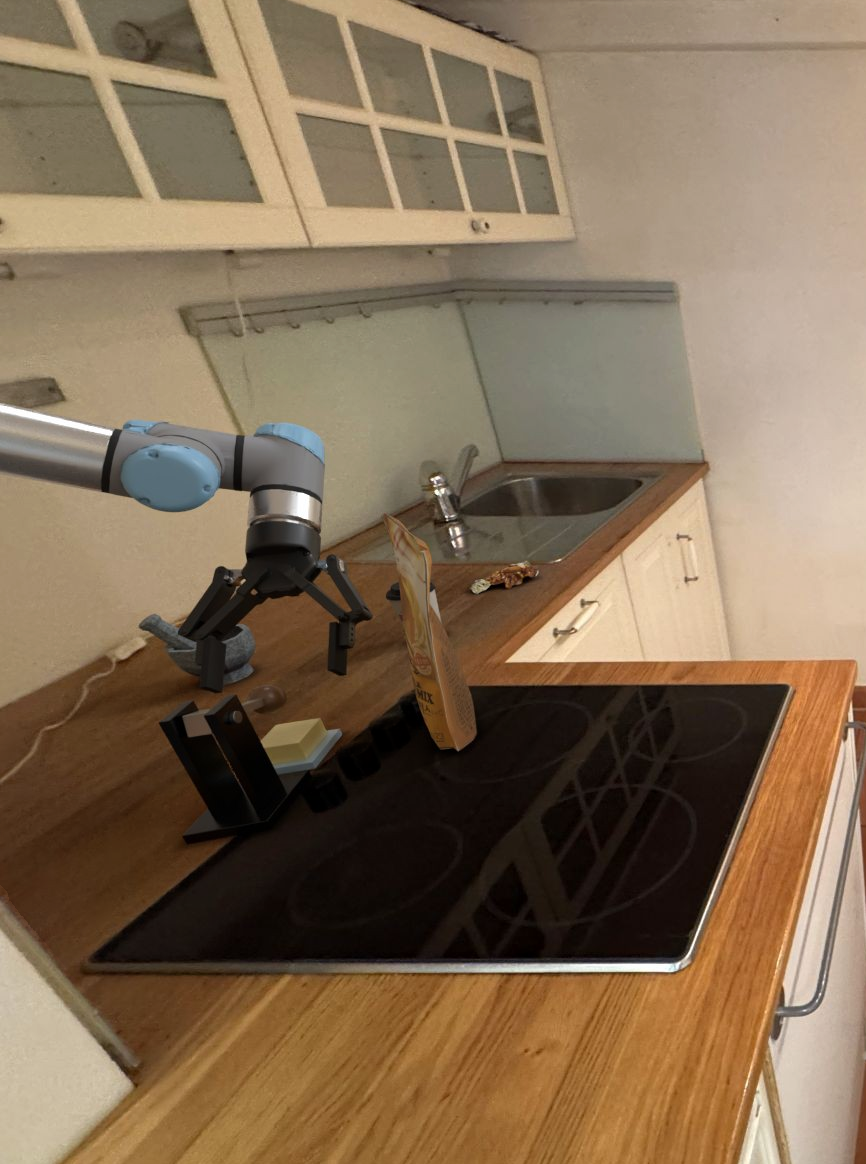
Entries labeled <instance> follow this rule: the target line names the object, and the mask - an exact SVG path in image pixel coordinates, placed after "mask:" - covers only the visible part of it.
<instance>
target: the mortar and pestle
mask: <svg viewBox="0 0 866 1164" xmlns="http://www.w3.org/2000/svg"><path fill="white" fill-rule="evenodd" d="M137 626H138V628H139V630H141V631H145V632H149V633H150V634H151V635H153V636H155V637H156V638H157V639H159V640H161V641H162V642H164V643H165V644H166V645H165V646H164V647H163V648H164V650H165V652H166V654H167V655H168V657H169V658H170V659H171V661H172V662H174V664H175V665H176V666H177V667H178V668H179V669H180V670H181V671H183V672H185V673H186V674H189V675H191V676H196V677H199V678H198V679H199V680H200V675H201V666H199V665H197V664H196V662H195V657H196V656H195V654H196V645H197V642H194V641H191V640H189V639H187V638H184V637H182V636H180V635H179V634H178V630H179V629H180V627H176V626H175V625H173V624H171V623H169V622H168V621H166V620H164V619H162V616H160V615H159V614H157V613H152V614H149V615H148V616H146V617H145V618H144V619H142V620H141V621H140V622H139V624H138V625H137ZM220 641H221V642H223V643H225V644H227V646H226V657H225V668H224V680H223V686H226V685H230V684H234V683H236V682H240V681H241V680H243V679H246V678H247V677H249V676H250V675H252V673H253V672H254V671H255V670H254V668H253V667H252V665H250V663H249V661H250V660H251V659H252V657H253V656H254V653H255V649H256V642H255V638H254V635H253V633H252V630H251V628H250V627H248V626H247V625H246V624H245V623H238V624H237V625H236V626H235V627H234V628H233V629H232V630H231V631H230V632H229V633H228V634H227V635H226V636H225V637H224V638H223V639H221V640H220Z"/></svg>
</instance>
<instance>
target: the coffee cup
mask: <svg viewBox="0 0 866 1164" xmlns="http://www.w3.org/2000/svg"><path fill="white" fill-rule="evenodd" d="M435 589H436V585H435V584H434V583H433V582H431V581H430V605H431V606H432V608H433V610H434V611H435V613H436V614H437V616H438V618H439V620H440V621H441V622H442V617H441V614H440V609H439V604H438V599H437V595H436V590H435ZM385 600H388V602H389V604H390V606H391V607H392V609H393V610H394V612H395V614H396V616H397V618H398V619H399V621H400V624H401V625H402V627H403V628H404V624H403V617H402V608H401V596H400V587H399V581H396V582H394V583H393V584H392V585H390V589H389V590H387V591H386V593H385Z"/></svg>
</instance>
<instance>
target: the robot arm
mask: <svg viewBox="0 0 866 1164" xmlns="http://www.w3.org/2000/svg"><path fill="white" fill-rule="evenodd" d="M324 445H325V444H324V442H323V440H322V439H321V438H320V436H319V435H318V434H317V433H316V432H314V431H312V430H311V429H309V428H307V427H305V426H302V425H299V424H295V423H291V422H283V421H282V422H281V421H280V422H279V423H274V422H268V423H264V424H262V425H260V426H258V427H257V428H256V430H255V432H254V434H253V435H246V434H245V435H243V434H235V433H229V432H223V431H215V430H209V429H204V428H198V427H191V426H185V425H179V424H174V423H169V422H168V421H153V420H152V421H151V420H142V419H129V420H127V421H125V422H124V424H122V428H121V429H120V428H116V427H114V426H113V427H112V426H110V425H104V424H100V423H95V422H91V421H87V420H86V421H85V420H81V419H76V418H72V417H68V416H62V415H58V414H54V413H51V412H45V411H42V410H41V411H40V410H36V409H32V408H28V407H23V406H18V405H13V404H9V403H6V402H5V403H4V402H0V475H2V476H3V475H4V476H9V477H15V478H20V479H27V480H32V481H36V482H43V483H49V484H55V485H59V486H64V487H65V486H66V487H70V488H76V489H83V490H88V491H92V492H98V493H99V492H100V493H104V494H110V495H114V496H117V497H118V496H119V497H123V498H130V499H133V500H135V501H136V502H138V503H140V504H141V505H143V506H145V507H147V508H150V509H152V510H154V511H159V512H165V513H185V512H189V511H193V510H195V509H197V508H199V507H201V506H203V505H204V504H205V503H207V502H209V501H210V500H211V499H212V498H213V497H214V496H215V494H216V492H217V491H218V490H220V489H221V490H228V491H229V490H231V491H236V492H246V493H249V500H248V511H247V522H246V526H247V527H248V528H247V530H246V536H245V545H244V546H245V547H244V553H245V554H244V555H245V559H246V562H245V564H244V566H243V567H242V568H227V567H225V566H224V565H219V566H217V567H216V568H215V570H214V573H213V577H212V581H211V583H210V584H209V586H208V587H207V589H206V590H205V592H203V594H202V596H201V597H200V598H199V600H198V602H197V603H196V604H195V606H194V607H193V609H192V610H191V611H190V613H189V614H188V616H187V617H186V619H185V620H184V621H183V623H182V625H181V626H180V627H179V630H178V634H179V635H180V636H182V637H184V638H187V639H189V640H191V641H194V642H197V645H196V654H195V656H196V657H195V662H196V664H197V665H199V666H201V675H200V679H199V686H198V687H199V689H202V690H205V691H208V692H210V693H213V694H222V693H223V690H224V685H223V680H224V668H225V657H226V646H227V644H225V643H223V642H221V641H220V640H221V639H223V638H224V637H225V636H226V635H227V634H228V633H229V632H230V631H231V630H232V629H233V628H234V627H235V626H236V625H237V624H240V622H241V621H242V620H243V619H244V618H246V616H248V614H250V612H252V611H253V610H254V608H256V607H257V606H259V605H260V606H261V605H262V604H263V603H265V602H266V601H267V600H268V599H271V600H277V599H281V598H284V597H290V598H293V597H294V598H295V597H300V595H301V594H303V593H305V594H306V595H308V596H309V597H310V598H311V599H313V600H314V601H315V602H316V603H318V604H319V606H321V607H322V608H323V609H324V610H326V611H327V612H328V613H329V614H330V615H331V616H333V617H334V619H335V620H337V621H330V622H329V623H328V624H329V627H328V648H327V671H328V672H331V673H332V674H334V675H336V676H339V677H344V676H347V670H348V669H347V668H348V667H347V666H348V650H350V649H354V647H355V645H356V627H357V625H358V624H360V623H362V622H364V621H366V622H369V621H371V620H372V619H373V618H374V614H373V613H372V611H371V609H370V608H369V607H368V605H367V602H365V600H364V599H363V597H362V596H361V594H360V592H359V591H358V589H357V587H356V586H355V584H354V583H353V581H352V580H351V578H350V577H349V573H348V565H347V562H345V561H344V560H343V559H341V558H340V557H339V556H337V555H335V554H331V553H330V554H328V555H327V556H326V558H325V559H322V560H321V545H322V537H321V535H320V534H321V533H322V521H323V502H324V501H323V500H324V487H325V472H326V463H325V460H326V459H325V446H324ZM322 572H324V573H326V575H328V576H329V577H330V579H331V580H332V582H333V583H334V585H335V587H336V588H337V589H338V591H339V593H340V594H341V596H342V598H343V599H344V601H345V602H346V604H347V605H348V607H349V608H350V610H349V611H347V610H345V608H343V607H342V606H341V605H339V603H338V602H336V601H335V600H334V599H333V598H331V597H330V596H329V595H328V594H327V593H326V592H324V590H323V589H322V588H320V587H319V586H318V585H317V584H316V583H315V582H314V581H315V580H316V579H317V578H318V577H319V576H320V575H321V574H322ZM243 580H244V581H243ZM242 581H243V582H242ZM253 590H254V591H255V592H256V593H254V594H253V593H252V592H253Z"/></svg>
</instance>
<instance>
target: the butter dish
mask: <svg viewBox="0 0 866 1164" xmlns="http://www.w3.org/2000/svg"><path fill="white" fill-rule="evenodd" d="M342 736H343V732H342V731H341V728H335V729H328V730H327V729H326V727H325V725H324V723H323V721H322V719H321V717H317V718H311V719H305V720H304V719H303V720H297V721H292V722H291V721H290V722H285V723H284V722H283V723H278V724H275V725H274V726H273V727H272V728H271V729H270V730H269V731H268V732H267V734H266V735H264V736H263V738H262V739H260V741H261V743H262V745H263V747H264V749H265V751H266V753H267V755H268V757H269V759H270V761H271V763H272V764H273V766H274V768H275V770H276V772H277V774H278V775H279V774H285V773H291V772H297V771H303V770H309V771H310V770H315V769H316V768H317V767H318V766H319V765H320V764H321V762H322V761H323V760H324V758H325V757H326V756H327V755H328V753H329V752H330V751H331V749H333V747H334V746H335V745H336V744H337V742H339V740H340V738H341V737H342Z"/></svg>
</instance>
